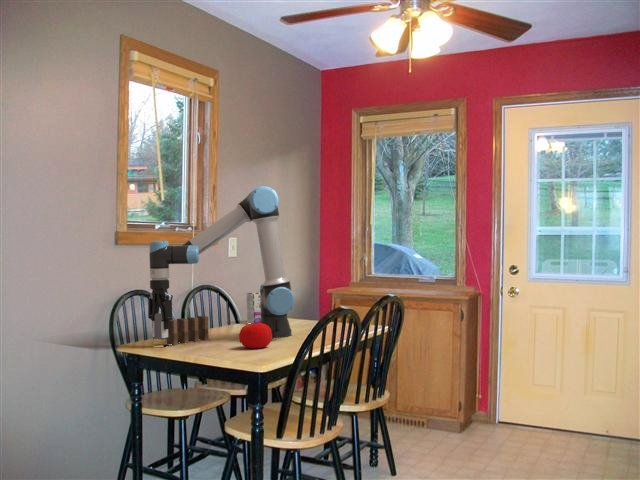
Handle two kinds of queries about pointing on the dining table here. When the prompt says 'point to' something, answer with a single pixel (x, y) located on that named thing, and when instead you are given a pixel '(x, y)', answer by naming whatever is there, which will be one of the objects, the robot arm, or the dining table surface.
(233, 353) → the dining table surface
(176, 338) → the domino
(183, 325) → the domino
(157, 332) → the domino
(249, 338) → the tomato
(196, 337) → the domino
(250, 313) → the candy bar box
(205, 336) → the domino
